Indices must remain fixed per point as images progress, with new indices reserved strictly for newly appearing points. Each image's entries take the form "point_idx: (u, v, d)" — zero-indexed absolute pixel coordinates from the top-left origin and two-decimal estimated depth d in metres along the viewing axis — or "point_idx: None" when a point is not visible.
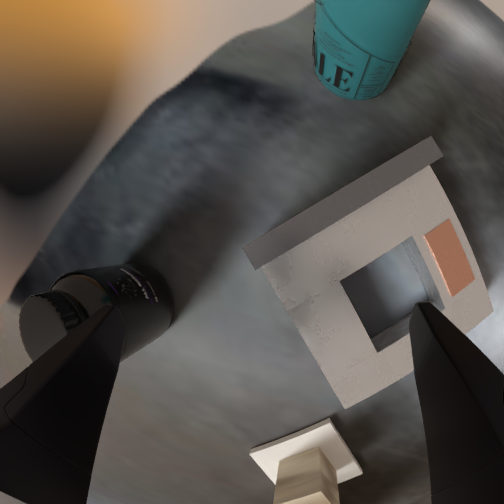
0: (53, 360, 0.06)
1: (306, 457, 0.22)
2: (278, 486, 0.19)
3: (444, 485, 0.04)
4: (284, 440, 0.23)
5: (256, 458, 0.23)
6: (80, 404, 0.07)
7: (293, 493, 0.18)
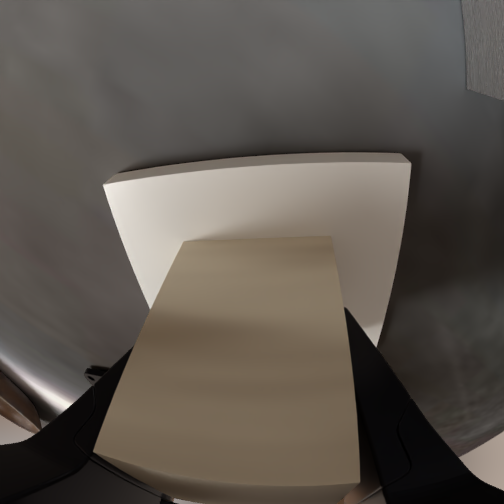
0: None
1: (283, 261, 0.07)
2: (145, 350, 0.05)
3: (350, 503, 0.05)
4: (230, 165, 0.07)
5: (119, 208, 0.08)
6: None
7: (202, 433, 0.04)
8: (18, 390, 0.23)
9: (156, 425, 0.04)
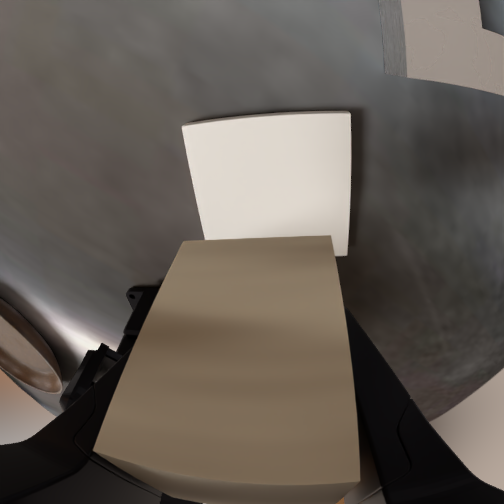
0: None
1: (283, 260, 0.07)
2: (145, 349, 0.05)
3: (350, 503, 0.05)
4: (256, 116, 0.13)
5: (190, 140, 0.14)
6: None
7: (201, 432, 0.04)
8: (45, 342, 0.29)
9: (156, 424, 0.04)
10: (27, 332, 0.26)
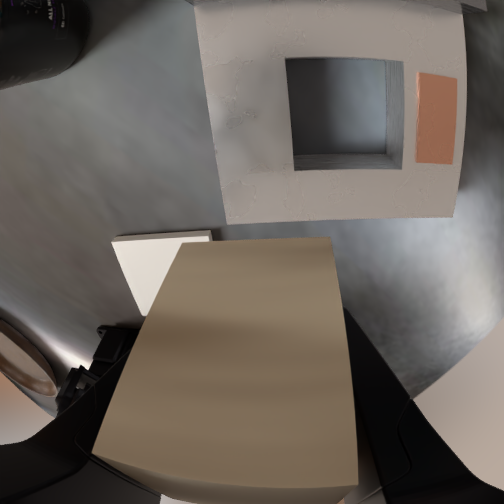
0: None
1: (282, 261, 0.07)
2: (143, 351, 0.05)
3: None
4: (152, 238, 0.22)
5: (117, 250, 0.23)
6: None
7: (200, 435, 0.04)
8: (43, 357, 0.37)
9: (154, 426, 0.04)
10: (30, 350, 0.34)
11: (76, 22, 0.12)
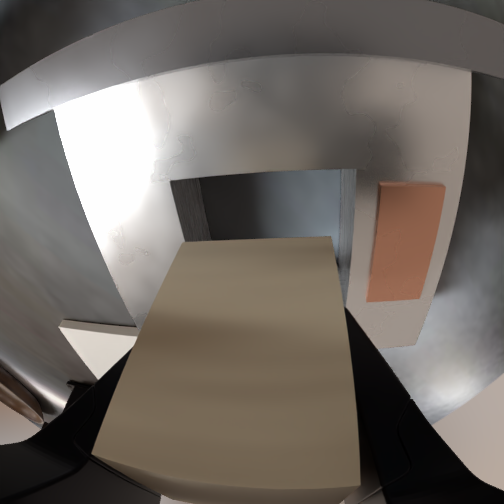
0: None
1: (283, 261, 0.07)
2: (144, 351, 0.05)
3: (350, 503, 0.05)
4: (92, 329, 0.19)
5: (65, 333, 0.20)
6: None
7: (200, 436, 0.04)
8: (28, 391, 0.35)
9: (155, 427, 0.04)
10: (13, 387, 0.32)
11: None
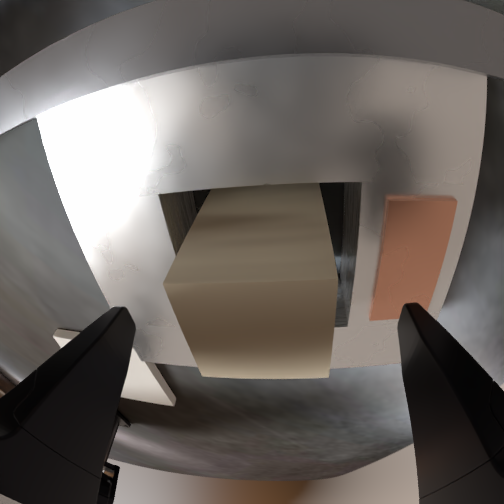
0: (62, 362, 0.06)
1: (285, 188, 0.11)
2: (196, 232, 0.09)
3: (431, 489, 0.05)
4: None
5: (59, 343, 0.19)
6: (90, 407, 0.07)
7: (238, 262, 0.07)
8: None
9: (208, 262, 0.07)
10: None
11: None
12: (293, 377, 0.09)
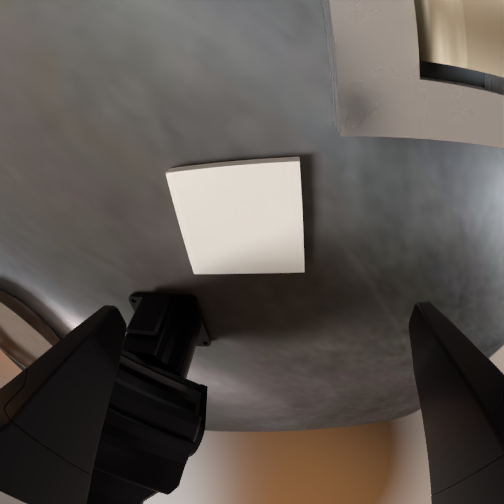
0: (53, 360, 0.06)
1: None
2: None
3: (445, 485, 0.04)
4: (223, 165, 0.17)
5: (172, 184, 0.18)
6: (80, 404, 0.07)
7: None
8: (58, 338, 0.34)
9: None
10: (42, 329, 0.31)
11: None
12: None
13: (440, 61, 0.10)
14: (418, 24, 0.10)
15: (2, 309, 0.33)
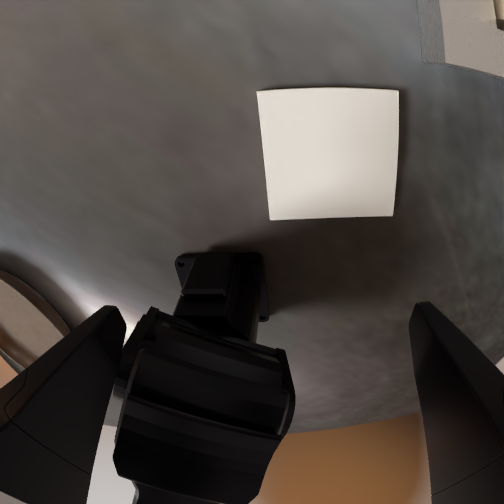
0: (53, 360, 0.06)
1: None
2: None
3: (444, 485, 0.04)
4: (322, 88, 0.15)
5: (263, 104, 0.15)
6: (80, 404, 0.07)
7: None
8: None
9: None
10: (50, 314, 0.26)
11: None
12: None
13: None
14: None
15: (1, 295, 0.28)
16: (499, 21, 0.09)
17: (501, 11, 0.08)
